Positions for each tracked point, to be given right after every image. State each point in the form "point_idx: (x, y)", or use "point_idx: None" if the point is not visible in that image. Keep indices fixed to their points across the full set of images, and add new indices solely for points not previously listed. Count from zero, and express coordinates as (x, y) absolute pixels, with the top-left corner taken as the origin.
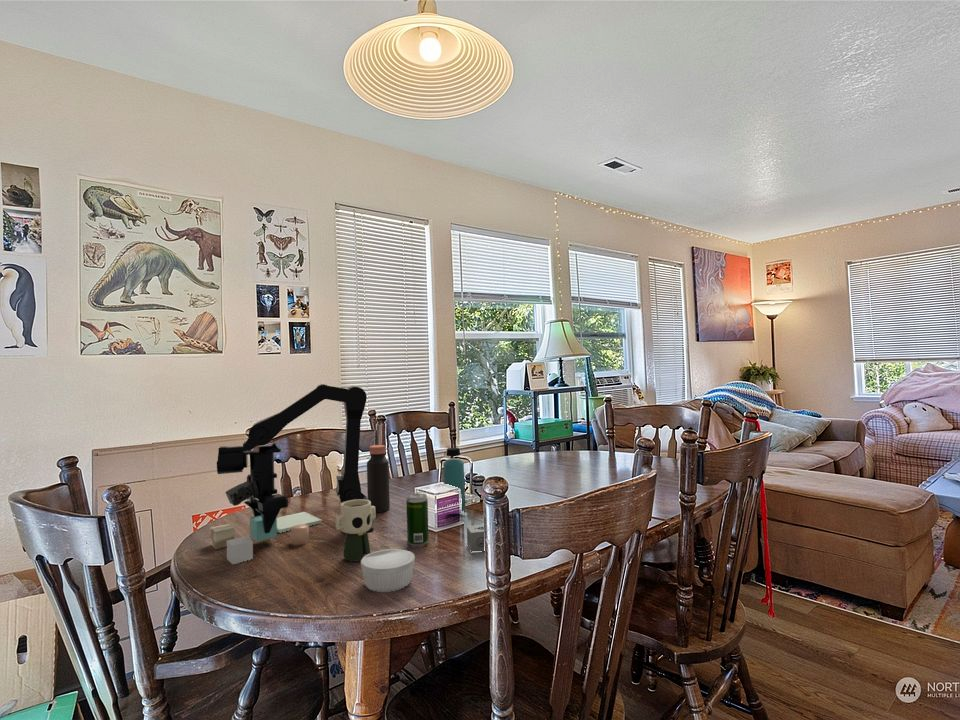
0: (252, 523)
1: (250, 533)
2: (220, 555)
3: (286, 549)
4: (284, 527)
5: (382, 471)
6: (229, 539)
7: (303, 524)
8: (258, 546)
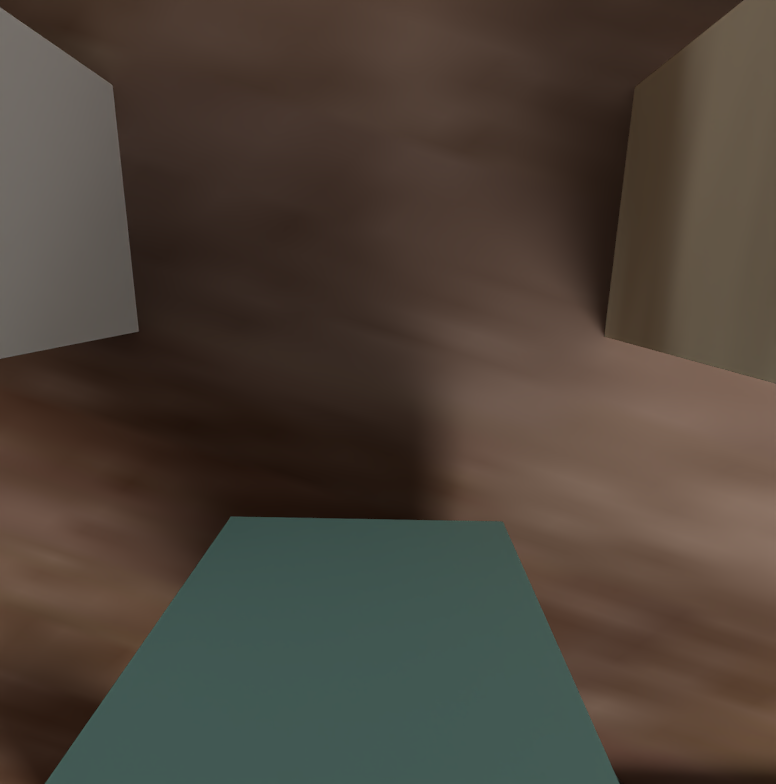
0: (405, 706)
1: (503, 549)
2: (325, 63)
3: (18, 662)
4: None
5: None
6: (655, 274)
7: None
8: (315, 510)
